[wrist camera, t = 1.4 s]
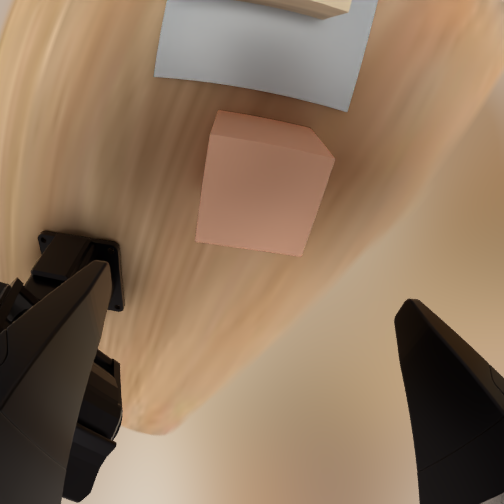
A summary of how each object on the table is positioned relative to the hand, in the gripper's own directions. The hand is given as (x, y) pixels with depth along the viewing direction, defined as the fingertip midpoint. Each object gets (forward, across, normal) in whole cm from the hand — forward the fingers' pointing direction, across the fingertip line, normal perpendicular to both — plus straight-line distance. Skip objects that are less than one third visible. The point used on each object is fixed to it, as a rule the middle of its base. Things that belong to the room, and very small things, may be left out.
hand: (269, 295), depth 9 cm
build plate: (+10, +1, -10) cm, 14 cm away
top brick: (+10, 0, 0) cm, 11 cm away
